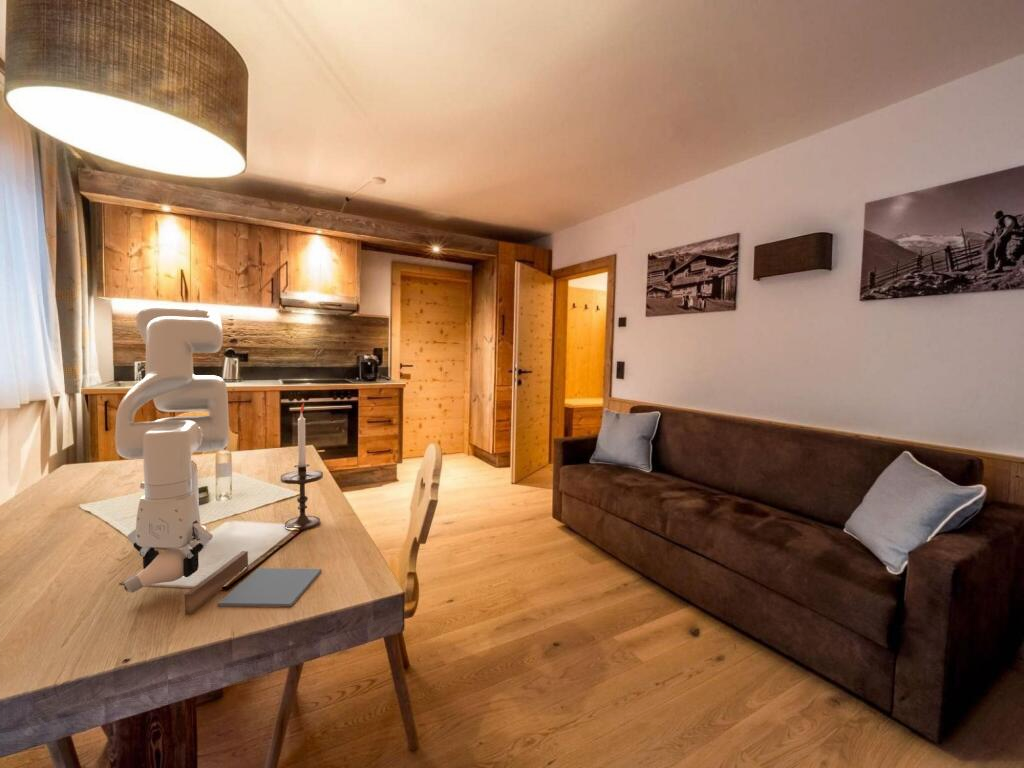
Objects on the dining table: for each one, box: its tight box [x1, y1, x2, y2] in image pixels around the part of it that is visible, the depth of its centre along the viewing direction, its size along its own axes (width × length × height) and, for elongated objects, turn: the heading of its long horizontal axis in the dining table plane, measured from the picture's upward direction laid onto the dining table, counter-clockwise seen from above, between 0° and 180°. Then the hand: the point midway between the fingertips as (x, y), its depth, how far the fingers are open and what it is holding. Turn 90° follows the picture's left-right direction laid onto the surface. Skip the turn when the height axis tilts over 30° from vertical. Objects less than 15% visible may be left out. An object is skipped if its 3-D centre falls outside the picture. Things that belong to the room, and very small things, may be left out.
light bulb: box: [123, 548, 186, 594], centre depth 88 cm, size 7×7×11 cm
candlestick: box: [280, 402, 324, 532], centre depth 125 cm, size 11×11×35 cm
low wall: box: [183, 550, 249, 616], centre depth 91 cm, size 1×18×4 cm, turn 1°
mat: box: [217, 567, 322, 608], centre depth 92 cm, size 14×14×1 cm
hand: (171, 572), depth 90 cm, fingers closed on light bulb, 7 cm apart
